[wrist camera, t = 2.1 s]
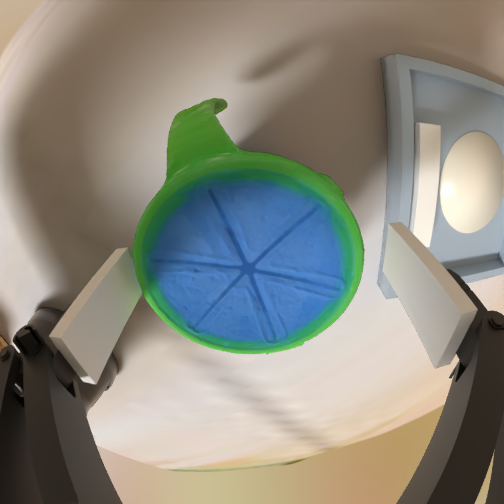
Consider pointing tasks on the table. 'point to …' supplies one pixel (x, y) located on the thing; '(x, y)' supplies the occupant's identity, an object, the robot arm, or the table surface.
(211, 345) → the snack cup
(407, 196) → the meal tray
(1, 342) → the candy box
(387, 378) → the table surface
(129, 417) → the table surface
